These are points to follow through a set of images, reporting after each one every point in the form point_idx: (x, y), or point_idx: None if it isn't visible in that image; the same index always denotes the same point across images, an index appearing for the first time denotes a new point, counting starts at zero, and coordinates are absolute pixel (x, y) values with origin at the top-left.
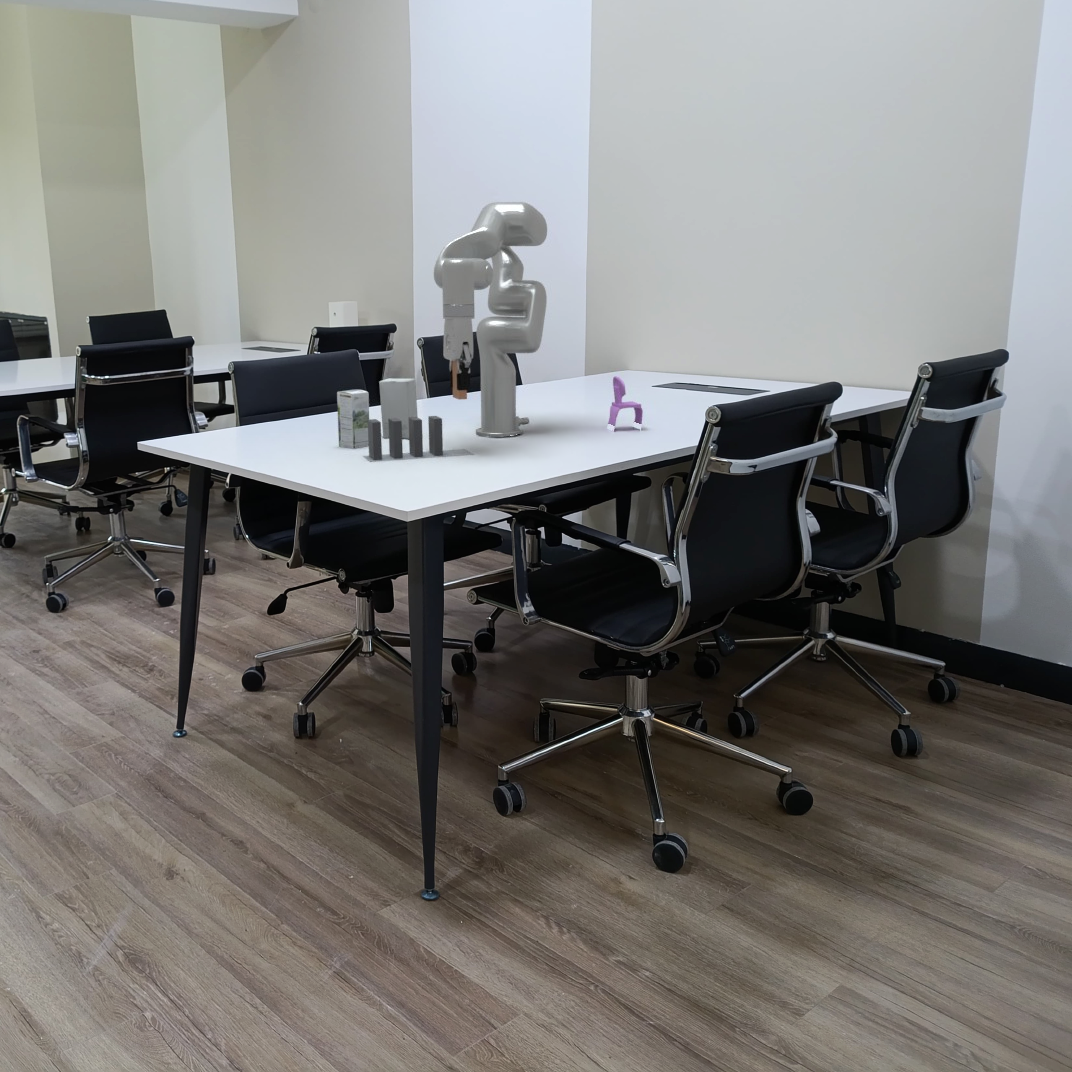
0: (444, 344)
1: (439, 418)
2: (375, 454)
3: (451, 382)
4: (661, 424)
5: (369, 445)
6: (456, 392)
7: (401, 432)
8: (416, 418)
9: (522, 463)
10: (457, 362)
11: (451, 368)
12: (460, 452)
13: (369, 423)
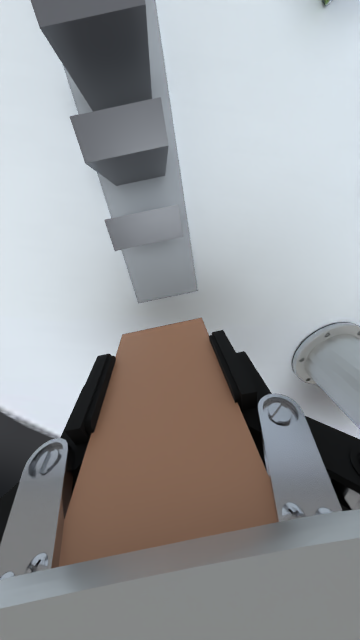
0: None
1: (119, 242)
2: None
3: (215, 349)
4: None
5: None
6: (151, 341)
7: (65, 65)
8: (123, 139)
9: (70, 363)
10: (31, 561)
11: (259, 420)
12: (162, 279)
13: None
